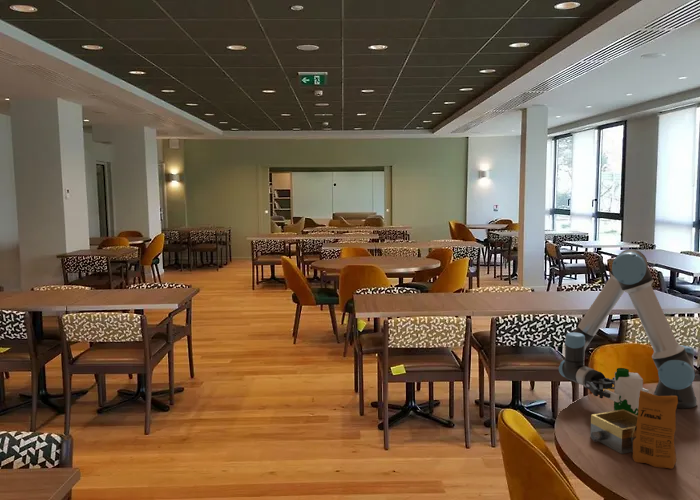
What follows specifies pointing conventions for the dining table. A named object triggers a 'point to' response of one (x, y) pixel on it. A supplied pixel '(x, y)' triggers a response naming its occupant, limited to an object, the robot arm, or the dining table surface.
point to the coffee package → (655, 430)
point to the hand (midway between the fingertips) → (633, 396)
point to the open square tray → (614, 429)
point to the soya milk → (627, 390)
